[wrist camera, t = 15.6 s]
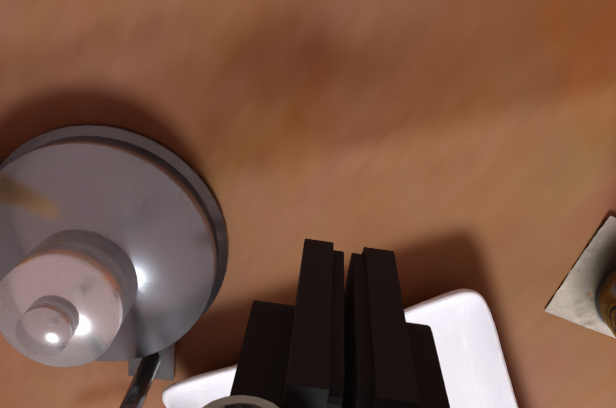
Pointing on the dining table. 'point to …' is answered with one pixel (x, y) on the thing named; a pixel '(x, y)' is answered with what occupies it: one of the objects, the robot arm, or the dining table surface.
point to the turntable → (117, 228)
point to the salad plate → (449, 344)
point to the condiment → (591, 285)
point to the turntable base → (159, 151)
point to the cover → (67, 298)
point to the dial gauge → (149, 374)
